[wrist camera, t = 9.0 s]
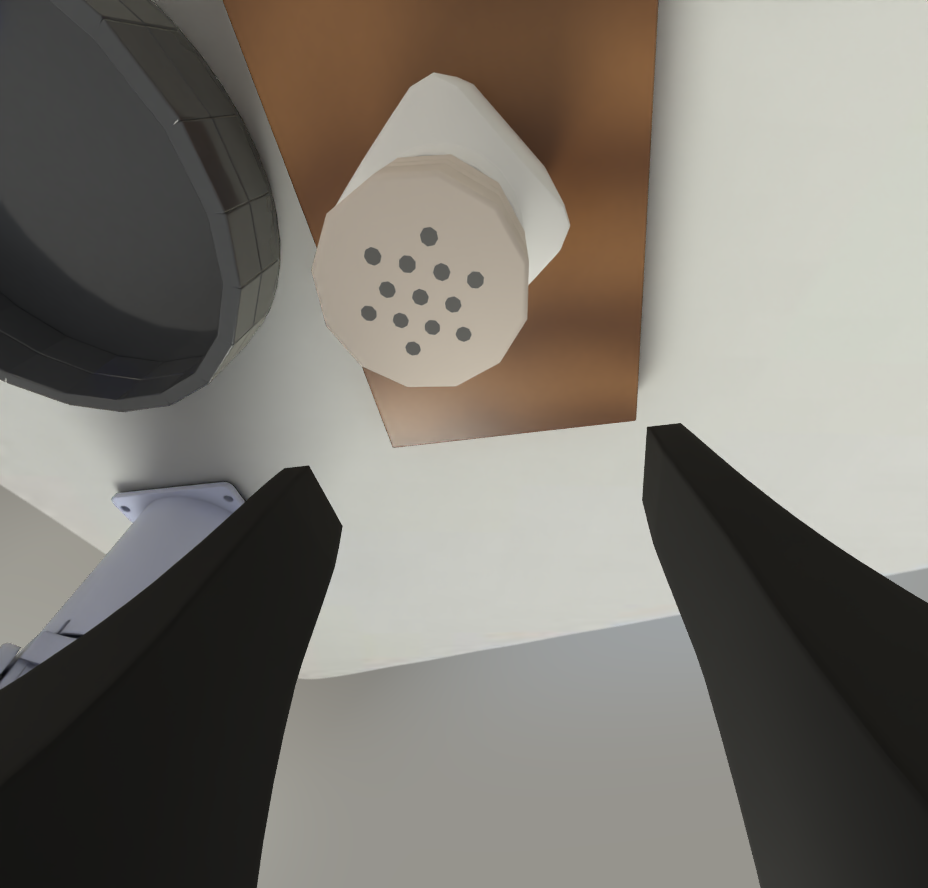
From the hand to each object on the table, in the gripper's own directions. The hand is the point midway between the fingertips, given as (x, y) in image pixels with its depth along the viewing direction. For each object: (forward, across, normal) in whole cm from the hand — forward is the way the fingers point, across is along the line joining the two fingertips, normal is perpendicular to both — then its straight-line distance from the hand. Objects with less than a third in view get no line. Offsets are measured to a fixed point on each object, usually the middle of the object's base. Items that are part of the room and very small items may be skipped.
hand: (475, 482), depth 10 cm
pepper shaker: (+9, 0, -4) cm, 10 cm away
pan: (+10, +14, -6) cm, 19 cm away
